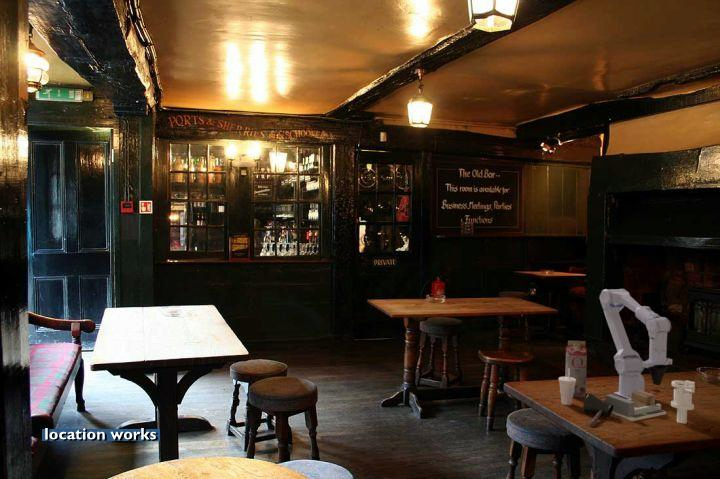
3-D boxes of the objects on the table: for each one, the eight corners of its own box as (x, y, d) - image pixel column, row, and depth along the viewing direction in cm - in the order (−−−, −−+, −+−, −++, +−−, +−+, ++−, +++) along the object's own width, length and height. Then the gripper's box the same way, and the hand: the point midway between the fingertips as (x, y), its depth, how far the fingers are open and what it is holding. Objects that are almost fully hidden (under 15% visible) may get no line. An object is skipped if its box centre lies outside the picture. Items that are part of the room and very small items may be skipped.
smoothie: (576, 406, 208) (577, 370, 207) (559, 405, 209) (560, 369, 209) (573, 401, 214) (574, 366, 214) (556, 400, 215) (557, 365, 215)
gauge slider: (640, 403, 209) (640, 390, 209) (662, 411, 201) (663, 397, 200) (631, 405, 207) (631, 392, 207) (653, 413, 199) (653, 399, 198)
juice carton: (585, 397, 219) (587, 343, 218) (568, 396, 220) (569, 342, 220) (581, 392, 226) (583, 339, 225) (564, 391, 227) (566, 338, 226)
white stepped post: (690, 427, 189) (692, 384, 188) (667, 421, 193) (669, 380, 193) (695, 421, 194) (696, 380, 193) (673, 416, 199) (674, 376, 198)
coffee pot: (589, 407, 206) (612, 417, 200) (568, 426, 194) (592, 436, 188) (592, 389, 204) (615, 398, 199) (571, 407, 192) (595, 416, 186)
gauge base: (634, 403, 213) (635, 388, 213) (665, 414, 201) (666, 398, 201) (601, 409, 205) (602, 393, 205) (632, 421, 193) (632, 404, 193)
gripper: (654, 353, 201) (653, 389, 201) (680, 349, 207) (679, 385, 208) (637, 349, 207) (636, 384, 208) (663, 345, 214) (661, 380, 214)
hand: (656, 384), depth 208 cm, fingers closed
